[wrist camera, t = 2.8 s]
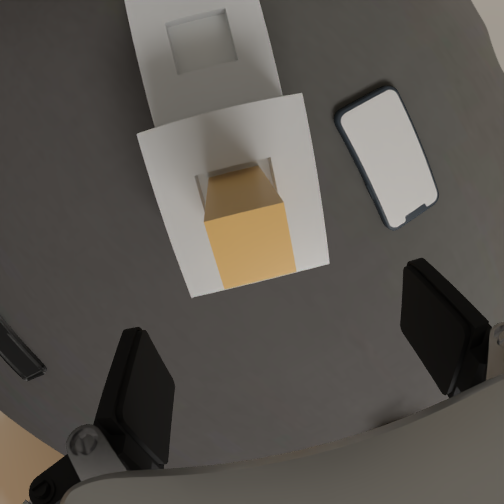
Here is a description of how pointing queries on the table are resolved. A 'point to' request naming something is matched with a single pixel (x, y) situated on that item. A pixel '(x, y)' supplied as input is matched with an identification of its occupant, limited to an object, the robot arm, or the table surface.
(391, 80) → the table surface
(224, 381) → the table surface
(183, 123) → the white stepped socket block
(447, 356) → the robot arm
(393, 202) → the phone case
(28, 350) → the phone
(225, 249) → the plug
